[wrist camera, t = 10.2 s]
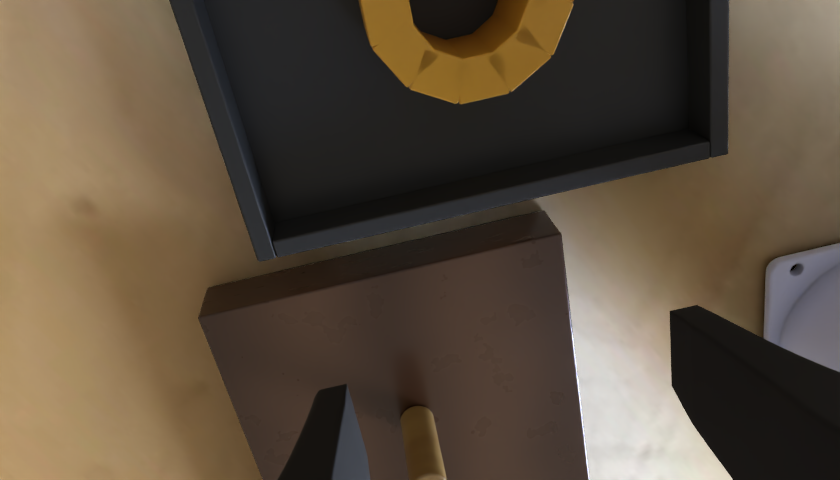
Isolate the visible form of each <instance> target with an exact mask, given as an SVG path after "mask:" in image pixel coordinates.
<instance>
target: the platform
mask: <svg viewBox="0 0 840 480" xmlns="http://www.w3.org/2000/svg"><path fill="white" fill-rule="evenodd" d="M198 319H199V322H200V324H201V327H202V329H203V332H204V334H205V337H206V339H207V342H208V344H209V347H210V349H211V352H212V354H213V357H214V359H215V362H216V364H217V366H218V369H219V371H220V374H221V376H222V379H223V381H224V384H225V386H226V389H227V391H228V394H229V396H230V399H231V401H232V404H233V406H234V409H235V411H236V414H237V416H238V419H239V421H240V424H241V426H242V429H243V431H244V434H245V436H246V439H247V441H248V444H249V446H250V449H251V451H252V454H253V456H254V459H255V461H256V464H257V466H258V469H259V471H260V474H261V476H262V479H263V480H277V479H278V478H279V476H280V474H281V472H282V470H283V469H284V467H285V465H286V463H287V461H288V459H289V457H290V455H291V453H292V450H293V448H294V446H295V444H296V442H297V440H298V438H299V436H300V433H301V431H302V429H303V426H304V424H305V422H306V419H307V417H308V414H309V412H310V409H311V406H312V404H313V401H314V398H315V395H316V394H317V392H318V391H319V390H321V389H325V388H330V387H334V386H339V385H343V384H347V386H348V389H349V393H350V396H351V400H352V403H353V407H354V410H355V414H356V417H357V421H358V424H359V428H360V431H361V435H362V438H363V442H364V445H365V449H366V452H367V456H368V464H369V472H370V480H590V478H589V470H588V461H587V452H586V444H585V435H584V426H583V418H582V409H581V400H580V391H579V383H578V374H577V365H576V357H575V348H574V339H573V331H572V322H571V313H570V305H569V296H568V287H567V278H566V270H565V261H564V252H563V244H562V235H561V233H560V232H559V230H558V229H557V227H556V226H555V225H554V223H553V222H552V221H551V219H550V218H549V216H548V215H547V214H546V212H545V211H539V212H535V213H531V214H526V215H522V216H518V217H513V218H509V219H505V220H500V221H496V222H492V223H487V224H483V225H479V226H474V227H470V228H466V229H461V230H457V231H453V232H448V233H444V234H440V235H435V236H431V237H427V238H422V239H418V240H414V241H409V242H405V243H401V244H396V245H392V246H388V247H383V248H379V249H374V250H370V251H366V252H361V253H357V254H353V255H348V256H344V257H340V258H335V259H331V260H327V261H322V262H318V263H314V264H309V265H305V266H301V267H296V268H292V269H288V270H283V271H279V272H275V273H270V274H266V275H262V276H257V277H253V278H249V279H244V280H240V281H236V282H231V283H227V284H222V285H218V286H214V287H209V288H208V289H207V291H206V294H205V297H204V301H203V304H202V307H201V310H200V313H199V317H198Z"/></svg>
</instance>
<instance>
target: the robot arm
mask: <svg viewBox="0 0 840 480" xmlns="http://www.w3.org/2000/svg"><path fill="white" fill-rule="evenodd" d="M795 264H797V266H796V267H795V269H794V270H791V268H792V267H793V266H794V265H795ZM790 270H791V271H790ZM670 336H671V372H672V387H673V389H674V390H675V392H676V394H677V396H678V398H679V400H680V402H681V404H682V406H683V408H684V409H685V411H686V413H687V415H688V416H689V418H690V420H691V422H692V423H693V425H694V426H695V428H696V429H697V431H698V432H699V434H700V435H701V436H702V438H703V439H704V440H705V442H706V443H707V445H708V446H709V447H710V449H711V450H712V451H713V453H714V454H715V456H716V457H717V458H718V460H719V461H720V462H721V464H722V465H723V466H724V468H725V469H726V470H727V472H728V473H729V474H730V476H731V477H732V478H733V480H840V243H837V244H833V245H829V246H824V247H820V248H816V249H812V250H807V251H803V252H799V253H794V254H790V255H786V256H782V257H778V258H776V259H774V260H772V261H771V262H770V263H769V265H768V266H767V268H766V279H765V309H764V338H762V337H760V336H758V335H756V334H754V333H752V332H750V331H748V330H746V329H744V328H742V327H740V326H738V325H736V324H734V323H732V322H730V321H728V320H726V319H724V318H722V317H720V316H718V315H716V314H714V313H712V312H710V311H708V310H706V309H704V308H702V307H700V306H698V305H695V306H691V307H686V308H682V309H677V310H673V311H670ZM277 480H370V472H369V464H368V456H367V452H366V449H365V445H364V442H363V438H362V435H361V431H360V428H359V424H358V421H357V417H356V414H355V410H354V407H353V403H352V400H351V396H350V393H349V389H348V386H347V384H343V385H339V386H334V387H330V388H325V389H321V390H319V391H318V392H317V394H316V395H315V398H314V401H313V404H312V406H311V409H310V412H309V414H308V417H307V419H306V422H305V424H304V426H303V429H302V431H301V433H300V436H299V438H298V440H297V442H296V444H295V446H294V448H293V450H292V453H291V455H290V457H289V459H288V461H287V463H286V465H285V467H284V469H283V470H282V472H281V474H280V476H279V478H278V479H277Z"/></svg>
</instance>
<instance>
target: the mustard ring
mask: <svg viewBox="0 0 840 480" xmlns="http://www.w3.org/2000/svg"><path fill="white" fill-rule="evenodd" d="M358 1H359V5H360V10H361V14H362V19H363V23H364V28H365V31H366V34H367V37H368V40H369V43H370V46H372V49H373V51H374V52H375V53H376V54H377V55H378V57H379V58H380V59H381V60H382V61H383V62H384V63H385V64H386V65H387V66H388V68H389V69H390V70H391V71H392V72H393V73H394V74H395V75H396V76H397V78H398V79H399V80H400V81H401V82H402V83H403V84H404V85H405V86H406V87H409V88H410V89H411V90H413V91H416V92H419V93H422V94H425V95H429V96H432V97H435V98H438V99H441V100H445V101H448V102H451V103H454V104H457V103H458V102H459V104H465V103H469V102H474V101H478V100H483V99H487V98H492V97H496V96H500V95H505V94H508V93H509V91H511V92H512V91H514V90H515V89H516V88H517V87H518V86H519V85H521V84H522V83H523V82H524V81H525V80H526V79H527V78H529V77H530V76H531V75H532V74H533V73H534V72H535V71H537V70H538V69H539V68H540V67H541V66H542V65H543V64H545V63H546V62H547V61H548V60H549V59H550V58H551V55H553V54H554V52H555V50H556V47H557V45H558V42H559V40H560V37H561V35H562V32H563V30H564V27H565V25H566V22H567V20H568V18H569V15H570V13H571V10H572V8H573V5H574V4H573V3H572V2H573V1H574V0H498V2H497V4H496V7H495V10H494V13H493V15H492V16H491V17H490V18H489V19H488V20H487V21H486V22H485V23H483V24H482V25H481V26H480V27H479V28H478V29H477V30H476V31H475V32H473V33H472V34H469V35H465V36H460V37H456V38H451V39H447V40H445V39H442V38H439V37H436V36H433V35H430V34H427V33H424V32H421V31H420V30H419V29H418V28H417V26H416V25H415V24H414V23H413V18H412V13H411V8H410V3H409V0H358Z"/></svg>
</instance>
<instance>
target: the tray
mask: <svg viewBox="0 0 840 480" xmlns="http://www.w3.org/2000/svg"><path fill="white" fill-rule="evenodd" d="M169 1H170V4H171V7H172V10H173V13H174V16H175V19H176V22H177V25H178V27H179V30H180V33H181V36H182V39H183V42H184V45H185V48H186V51H187V54H188V57H189V60H190V63H191V66H192V69H193V72H194V75H195V78H196V80H197V83H198V86H199V89H200V92H201V95H202V98H203V101H204V104H205V107H206V110H207V113H208V116H209V119H210V122H211V125H212V128H213V130H214V133H215V136H216V139H217V142H218V145H219V148H220V151H221V154H222V157H223V160H224V163H225V166H226V169H227V172H228V175H229V178H230V180H231V183H232V186H233V189H234V192H235V195H236V198H237V201H238V204H239V207H240V210H241V213H242V216H243V219H244V222H245V225H246V228H247V230H248V233H249V236H250V239H251V242H252V245H253V248H254V251H255V254H256V257H257V260H258V261H265V260H269V259H273V258H276V256H277V257H282V256H286V255H291V254H295V253H299V252H304V251H308V250H312V249H317V248H321V247H325V246H330V245H334V244H338V243H343V242H347V241H351V240H356V239H360V238H365V237H369V236H373V235H378V234H382V233H386V232H391V231H395V230H399V229H404V228H408V227H412V226H417V225H421V224H425V223H430V222H434V221H439V220H443V219H447V218H452V217H456V216H460V215H465V214H469V213H473V212H478V211H482V210H486V209H491V208H495V207H499V206H504V205H508V204H513V203H517V202H521V201H526V200H530V199H534V198H539V197H543V196H547V195H552V194H556V193H560V192H565V191H569V190H573V189H578V188H582V187H587V186H591V185H595V184H600V183H604V182H608V181H613V180H617V179H621V178H626V177H630V176H634V175H639V174H643V173H647V172H652V171H656V170H661V169H665V168H669V167H674V166H678V165H682V164H687V163H691V162H695V161H700V160H704V159H708V158H710V157H711V158H713V157H717V156H721V155H726V154H728V80H729V0H574V1H573V2H572V3H573V4H574V5H573V8H572V10H571V13H570V15H569V18H568V20H567V22H566V25H565V27H564V30H563V32H562V35H561V37H560V40H559V42H558V45H557V47H556V50H555V52H554V54H553V55H551V58H550V59H549V60H548V61H547V62H546V63H545V64H543V65H542V66H541V67H540V68H539V69H538V70H537V71H535V72H534V73H533V74H532V75H531V76H530V77H529V78H527V79H526V80H525V81H524V82H523V83H522V84H521V85H519V86H518V87H517V88H516V89H515V90H514V91H512V92H511V91H509V93H508V94H505V95H500V96H496V97H492V98H487V99H483V100H478V101H474V102H469V103H465V104H459V102H458V103H457V104H454V103H451V102H448V101H445V100H441V99H438V98H435V97H432V96H429V95H425V94H422V93H419V92H416V91H413V90H411V89H410V88H409V87H406V86H405V85H404V84H403V83H402V82H401V81H400V80H399V79H398V78H397V76H396V75H395V74H394V73H393V72H392V71H391V70H390V69H389V68H388V66H387V65H386V64H385V63H384V62H383V61H382V60H381V59H380V58H379V57H378V55H377V54H376V53H375V52H374V51H373V49H372V46H370V43H369V40H368V37H367V34H366V31H365V28H364V23H363V19H362V14H361V10H360V5H359V1H358V0H169ZM497 2H498V0H409V3H410V8H411V13H412V18H413V23H414V24H415V25H416V26H417V28H418V29H419V30H420V31H421V32H424V33H427V34H430V35H433V36H436V37H439V38H442V39H445V40H447V39H451V38H456V37H460V36H465V35H469V34H472V33H473V32H475V31H476V30H477V29H478V28H479V27H480V26H481V25H482V24H483V23H485V22H486V21H487V20H488V19H489V18H490V17H491V16H492V15H493V13H494V10H495V7H496V4H497Z"/></svg>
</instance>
